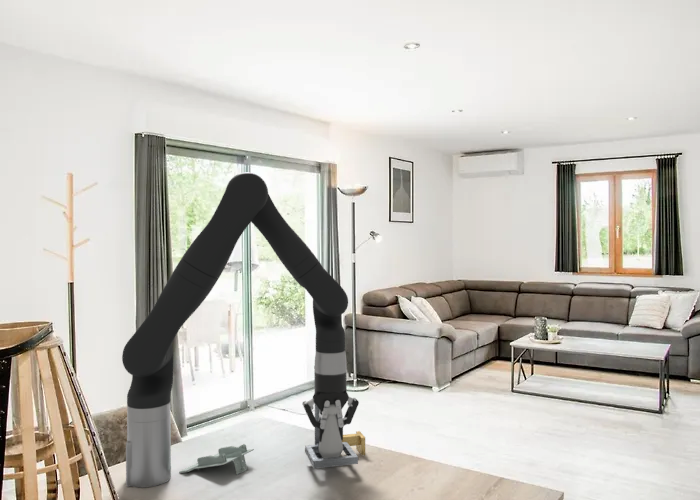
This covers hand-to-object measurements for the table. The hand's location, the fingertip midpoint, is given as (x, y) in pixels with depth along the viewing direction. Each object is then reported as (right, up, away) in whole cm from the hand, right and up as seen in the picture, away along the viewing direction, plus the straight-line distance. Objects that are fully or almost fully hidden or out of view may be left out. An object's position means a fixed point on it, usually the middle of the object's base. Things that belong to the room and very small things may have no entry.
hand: (330, 442), depth 136 cm
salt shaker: (0, -4, 0) cm, 4 cm away
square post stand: (+1, -6, +4) cm, 8 cm away
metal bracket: (-26, -7, +1) cm, 27 cm away
